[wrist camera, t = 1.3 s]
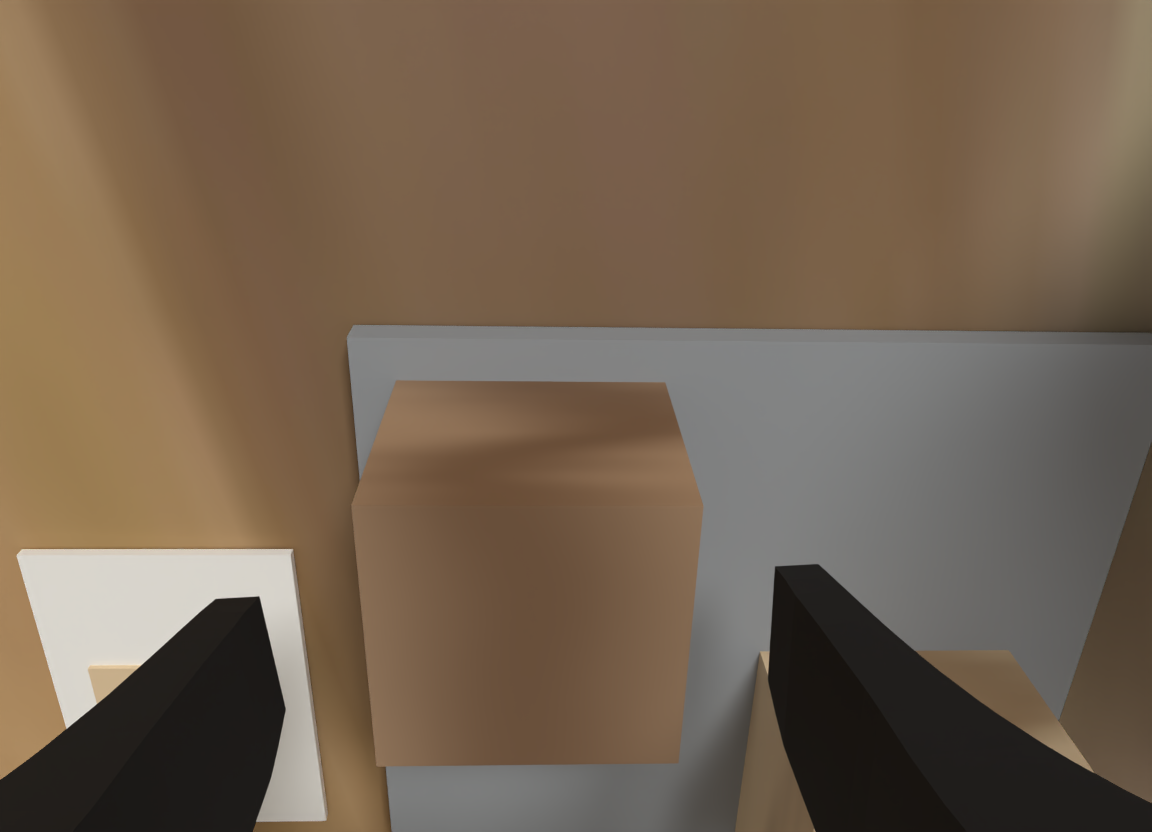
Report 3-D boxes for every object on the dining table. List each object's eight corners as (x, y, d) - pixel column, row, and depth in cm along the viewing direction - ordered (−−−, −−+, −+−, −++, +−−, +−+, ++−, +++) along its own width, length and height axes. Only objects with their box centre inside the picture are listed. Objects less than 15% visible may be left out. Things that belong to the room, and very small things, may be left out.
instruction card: (293, 548, 17) (289, 557, 17) (328, 813, 20) (325, 824, 20) (22, 549, 17) (13, 558, 17) (98, 816, 20) (92, 828, 20)
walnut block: (665, 382, 15) (703, 505, 12) (649, 599, 17) (678, 763, 14) (396, 379, 15) (351, 505, 12) (410, 600, 17) (376, 766, 14)
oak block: (1008, 650, 18) (1124, 816, 15) (957, 827, 20) (1047, 1010, 17) (759, 651, 18) (814, 820, 14) (734, 831, 20) (777, 1017, 16)
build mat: (1161, 333, 16) (1183, 345, 15) (1006, 820, 21) (1018, 842, 21) (353, 325, 15) (346, 337, 15) (397, 828, 21) (393, 850, 20)
